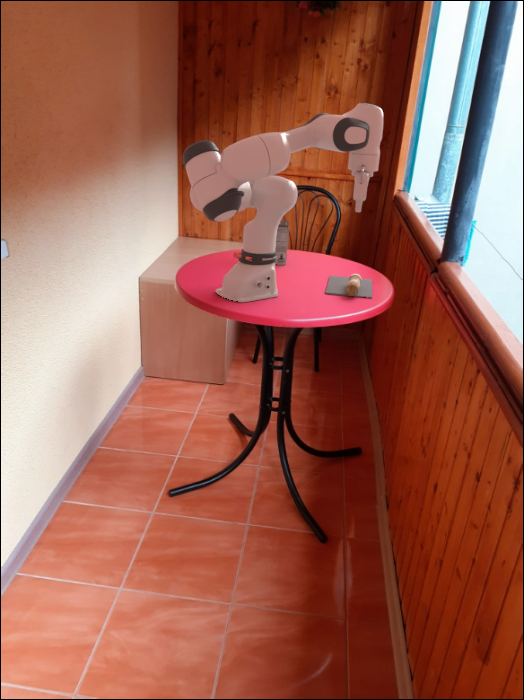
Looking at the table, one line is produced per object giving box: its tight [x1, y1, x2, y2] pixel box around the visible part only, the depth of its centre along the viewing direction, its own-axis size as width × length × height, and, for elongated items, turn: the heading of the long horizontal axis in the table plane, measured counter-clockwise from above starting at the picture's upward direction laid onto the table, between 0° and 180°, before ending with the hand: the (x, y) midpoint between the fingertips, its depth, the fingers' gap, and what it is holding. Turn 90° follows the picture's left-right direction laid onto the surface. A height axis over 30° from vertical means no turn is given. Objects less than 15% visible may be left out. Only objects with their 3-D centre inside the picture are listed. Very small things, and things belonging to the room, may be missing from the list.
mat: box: [325, 275, 373, 299], centre depth 206 cm, size 22×16×1 cm
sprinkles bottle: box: [346, 273, 363, 297], centre depth 200 cm, size 5×5×14 cm
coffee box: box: [275, 220, 290, 266], centre depth 231 cm, size 9×6×16 cm
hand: (358, 211), depth 172 cm, fingers closed
